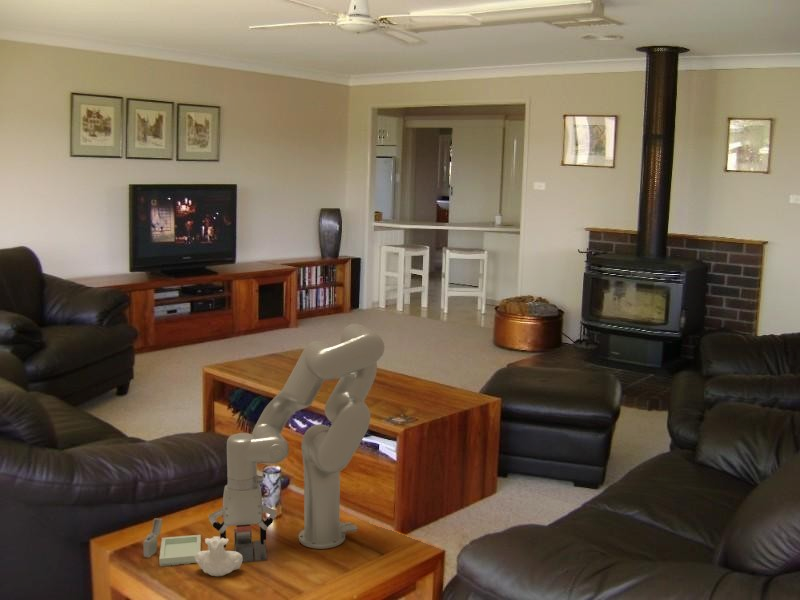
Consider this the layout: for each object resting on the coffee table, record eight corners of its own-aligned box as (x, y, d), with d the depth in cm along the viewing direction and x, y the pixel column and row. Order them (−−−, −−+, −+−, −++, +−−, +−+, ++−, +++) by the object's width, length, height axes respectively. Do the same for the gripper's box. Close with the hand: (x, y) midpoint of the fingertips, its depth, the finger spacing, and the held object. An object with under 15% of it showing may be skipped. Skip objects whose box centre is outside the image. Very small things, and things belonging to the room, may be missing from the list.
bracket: (264, 540, 232) (264, 526, 231) (267, 560, 221) (266, 545, 220) (234, 543, 230) (234, 529, 229) (235, 563, 219) (235, 548, 218)
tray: (200, 542, 230) (200, 534, 230) (200, 563, 219) (200, 555, 218) (162, 545, 228) (161, 537, 228) (159, 566, 217) (159, 558, 216)
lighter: (149, 557, 221) (148, 528, 220) (143, 556, 222) (142, 527, 220) (163, 545, 228) (162, 517, 227) (157, 544, 229) (156, 516, 227)
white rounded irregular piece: (194, 581, 214) (186, 561, 206) (199, 552, 219) (192, 531, 211) (242, 582, 214) (236, 561, 206) (246, 553, 219) (240, 532, 211)
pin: (250, 548, 227) (249, 520, 226) (250, 554, 224) (250, 525, 222) (236, 549, 226) (236, 521, 225) (237, 556, 223) (236, 527, 221)
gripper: (275, 474, 227) (275, 535, 230) (207, 478, 223) (209, 540, 226) (277, 484, 220) (277, 547, 223) (207, 489, 216) (209, 553, 219)
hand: (243, 543), depth 224 cm, fingers open, 9 cm apart
